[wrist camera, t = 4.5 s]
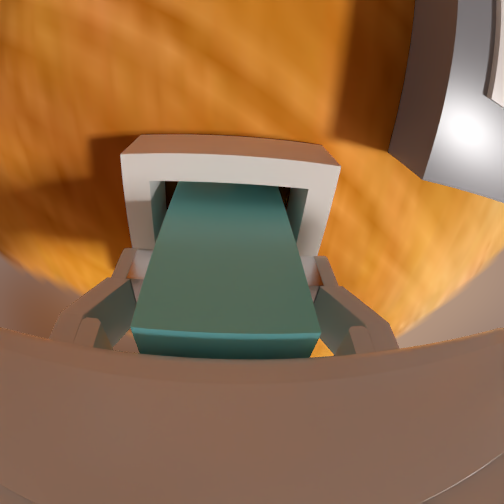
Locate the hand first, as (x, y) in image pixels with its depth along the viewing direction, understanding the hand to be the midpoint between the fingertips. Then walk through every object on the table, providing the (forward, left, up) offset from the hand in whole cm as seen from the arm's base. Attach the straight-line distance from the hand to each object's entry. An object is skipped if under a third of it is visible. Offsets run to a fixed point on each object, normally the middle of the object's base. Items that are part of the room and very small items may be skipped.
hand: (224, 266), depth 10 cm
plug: (0, 0, -4) cm, 4 cm away
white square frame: (0, 0, -4) cm, 4 cm away
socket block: (+13, +12, -4) cm, 18 cm away
